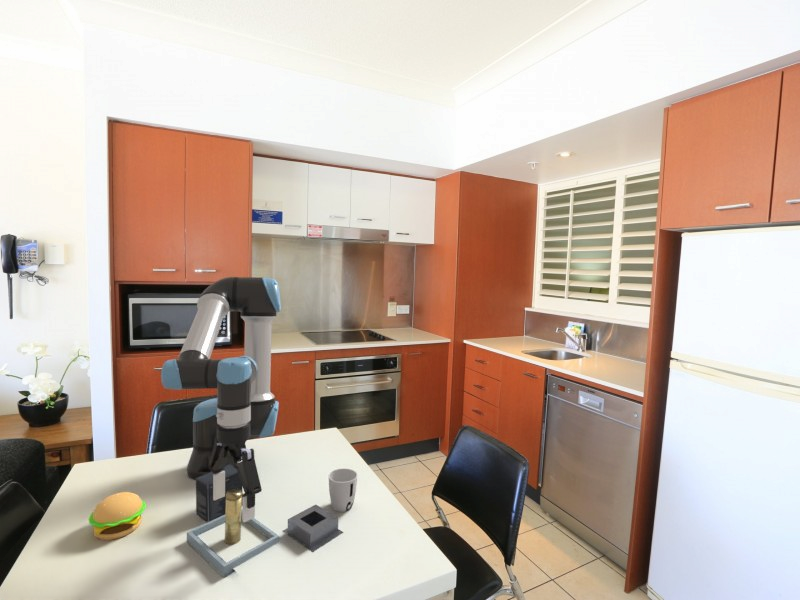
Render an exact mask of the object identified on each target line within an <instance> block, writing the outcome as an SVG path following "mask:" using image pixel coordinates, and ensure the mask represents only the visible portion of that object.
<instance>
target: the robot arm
mask: <svg viewBox="0 0 800 600" xmlns="http://www.w3.org/2000/svg"><path fill="white" fill-rule="evenodd" d="M281 302H282V301H281V294H280V286H279V283H278V281H277V280H276V279H275V278H272V277H271V278H270V277H250V276H249V277H248V276H247V277H243V276H239V277H238V276H228V277H224V278H221V279H219V280H216V281H215V282H213V283H211V284H210V285H208V287H206V288H205V289H204V290H203V292H202V293H201V294H200V295H199V298H198V300H197V302H196V308H197V311H196V314H195V316H194V319H193V321H192V323H191V325H190V329H189V331H188V333H187V336H186V339H185V341H184V343H183V345H182V347H181V350H180V352H179V355H178V357H177V359H176V358H173V359H168V360H166V361H164V363H163V365H162V367H161V371H160V372H161V373H160V380H161V381H160V382H161V385H162V386H163V388H164V389H166V390H180V391H182V390H200V389H202V390H204V389H217V390H216V396H217V397H216V398H215V397H214V398H210V399H206V400H204V401H202V402H200V403H198V404H197V405H196V406H195V407H194V409H193V412H192V413H193V418H192V451H191V454H190V456H189V457H190V458H189V460H188V462H187V465H186V474H187V477H188V478H190V479H192V480H195V481H196V478H198V477H200V476H203V475H205V474H208V473H210V472H212V473H214V474H213V500H214V501H215V500H217V499H220V498H222V497H225V471H222V472H221V470H224V469H226V468H225V466H228V465H232V466H233V467H234V468H236V469H237V472H238V475H239V478H240V481H241V484H242V490H243V492H244V493H243V495H242V496H243V500H242V507H241V509H242V518H241V522H243V523H247V522H246V521H248V520H250V519H252V518H255V516H256V513H255V512H256V511H255V510H256V509H255V508H256V495H257V494H259V493H261V492H262V490H263V489H262V486H261V480H260V477H259V473H258V468H257V463H256V461H255V450H254V448H249V449H248V448H247V446H246V442H247V441H248V440H249V439H254V438H255V439H257V438H258V439H261V438H268V437H272V436H273V435H274V433H275V430H276V425H277V418H278V412H279V405H280V403H279V401H278V400H275V399H276V398H275V394H273V393H272V392H271V375H272V374H271V372H272V371H271V369H272V366H271V362H272V329H273V326H272V325H273V324H272V323H273V321H274V320H276V318H277V314H278V313H280V312H281V311H282V307H281ZM229 312H239V313H240V319H242V320H243V321H244V324H245V325H244V355H241V356H237V357H227V358H211V356H212V353H213V350H214V347H215V344H216V340H217V338H218V334H219V332H220V329H221V325H222V322H223V319H224V318H225V317H226V316H227V315H228V313H229Z"/></svg>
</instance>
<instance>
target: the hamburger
mask: <svg viewBox="0 0 800 600" xmlns="http://www.w3.org/2000/svg"><path fill="white" fill-rule="evenodd" d="M146 508H147V504H146V502H144V501H143V500H142V499H141V497H140V496H139V495H138V494H136V493H133V492H130V491H121V492H116V493H113V494H110V495H108V496H106V497H105V498H103V499H102V500H101V501H100V502H98V504H97V505H96V506H95V508H94V509H93V512H91V513H90V515H89V518H88V523H89V525H91V526H93V534H94V536H95V537H96V538H97V539H99V540H103V541H108V540H115V539H120V538H124V537H126V536H128V535H129V534H131V533H133V532H134V531H135V530H136V529H138V528H139V527H140V525H141V523H142V521H143V520H142V519H143V517H142V514H143V512H144V511H145V510H146Z"/></svg>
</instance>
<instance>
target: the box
mask: <svg viewBox="0 0 800 600" xmlns="http://www.w3.org/2000/svg"><path fill="white" fill-rule="evenodd" d="M225 468H226V469H224V470H221V472H222V471H225V497H222V498H220V499H217V500H215V501H214V500H213V474H214V473H212V472H210V473H208V474H205V475H203V476H200V477H198V478H196V480H195V500H196V501H195V513H196V516H197V517H199V518H201V519H202V520H204V521H205V522H206V523H208V522H210V521H212V520H214V519H216V518H219V517H221V516H223V515H225V512H226V493H227V492H228V491H230V490H233V489H239V490H241V491H242V495H243V494H244V493H243V492H244V490H243V486H242V484H241V481H240V478H239V475H238V472H237V469H236V468H234V467H233V466H232V465H228V466H225ZM242 500H243V496H242Z"/></svg>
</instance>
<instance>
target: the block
mask: <svg viewBox="0 0 800 600" xmlns="http://www.w3.org/2000/svg"><path fill="white" fill-rule="evenodd" d="M282 533H284V534H286V535H287V536H288V537H290V538H292V539H293V540H294V541H295V542H296V543H298V544H300V545H301V546H302V547H304V548H305V549H307V550H308V551H309V552H312V553H314V552H316V551H317V550H318V549H320V548H322V547H323V546H325V545H326V544H328V543H329V542H331V541H333V540H334V539H336V538H337V537H339V536H341V535H343V534H344V531H343V530H341V529H339V517H338V516H337V515H335V514H333V513H331V512H330V511H328V510H326V509H324V508H323V507H321V506H319V505H317V503H316V504H314V505H311V506H310V507H308V508H306V509H304V510H302V511H300V512H299V513H297V514H295V515H292V516H291V517H290V518H288V519H287V527H286V528H285V529H284V530H282Z"/></svg>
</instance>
